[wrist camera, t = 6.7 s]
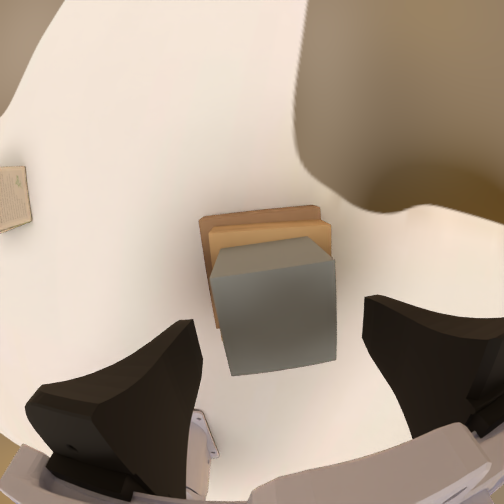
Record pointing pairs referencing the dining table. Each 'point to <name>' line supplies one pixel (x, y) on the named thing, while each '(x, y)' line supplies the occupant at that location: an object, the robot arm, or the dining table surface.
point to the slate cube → (275, 305)
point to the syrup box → (13, 198)
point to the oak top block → (268, 234)
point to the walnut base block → (249, 218)
